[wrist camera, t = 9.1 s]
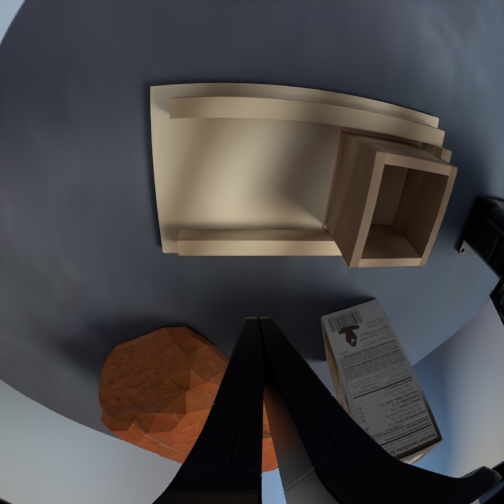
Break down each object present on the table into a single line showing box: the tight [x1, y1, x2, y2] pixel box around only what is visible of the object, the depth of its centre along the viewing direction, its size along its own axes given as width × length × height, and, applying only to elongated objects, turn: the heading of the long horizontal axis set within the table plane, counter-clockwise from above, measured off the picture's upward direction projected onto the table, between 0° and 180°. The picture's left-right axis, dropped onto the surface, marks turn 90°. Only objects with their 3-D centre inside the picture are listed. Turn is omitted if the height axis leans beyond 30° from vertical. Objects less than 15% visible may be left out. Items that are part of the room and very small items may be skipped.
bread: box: [99, 327, 278, 472], centre depth 30 cm, size 16×27×11 cm, turn 28°
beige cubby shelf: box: [150, 83, 452, 256], centre depth 18 cm, size 20×12×3 cm, turn 87°
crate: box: [326, 131, 458, 267], centre depth 17 cm, size 6×7×5 cm
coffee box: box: [321, 299, 443, 465], centre depth 23 cm, size 9×6×16 cm
